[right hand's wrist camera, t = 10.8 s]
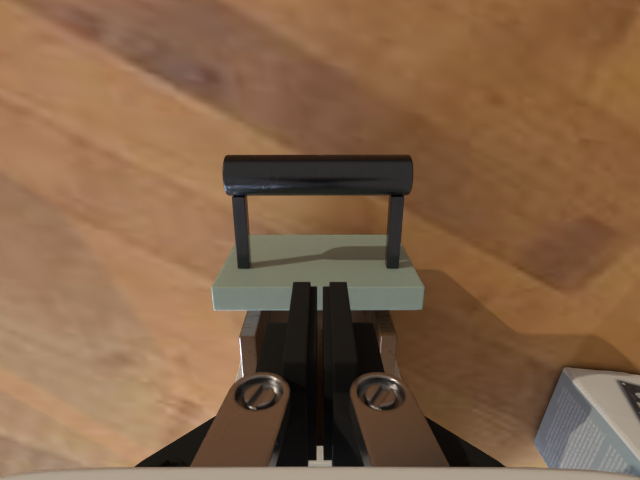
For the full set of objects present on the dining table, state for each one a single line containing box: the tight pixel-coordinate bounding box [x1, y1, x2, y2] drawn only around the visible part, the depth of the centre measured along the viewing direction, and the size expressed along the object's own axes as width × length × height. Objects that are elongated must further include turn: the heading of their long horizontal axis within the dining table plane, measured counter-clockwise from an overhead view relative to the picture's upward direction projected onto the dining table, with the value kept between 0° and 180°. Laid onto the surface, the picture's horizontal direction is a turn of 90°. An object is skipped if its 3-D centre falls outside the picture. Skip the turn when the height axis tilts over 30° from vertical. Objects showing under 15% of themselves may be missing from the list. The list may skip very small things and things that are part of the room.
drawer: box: [211, 155, 425, 446], centre depth 23 cm, size 21×9×7 cm, turn 0°
